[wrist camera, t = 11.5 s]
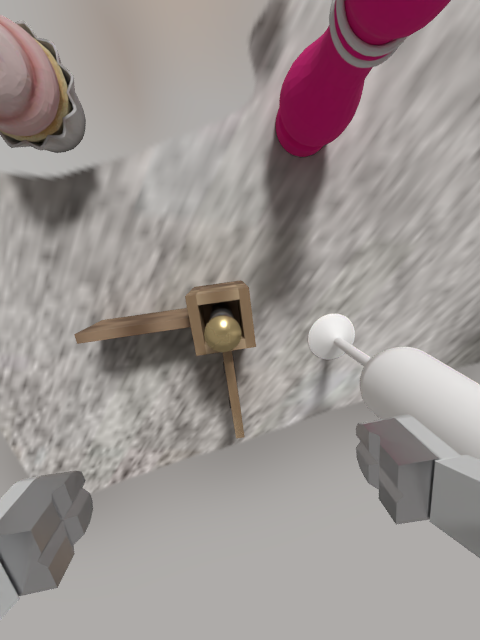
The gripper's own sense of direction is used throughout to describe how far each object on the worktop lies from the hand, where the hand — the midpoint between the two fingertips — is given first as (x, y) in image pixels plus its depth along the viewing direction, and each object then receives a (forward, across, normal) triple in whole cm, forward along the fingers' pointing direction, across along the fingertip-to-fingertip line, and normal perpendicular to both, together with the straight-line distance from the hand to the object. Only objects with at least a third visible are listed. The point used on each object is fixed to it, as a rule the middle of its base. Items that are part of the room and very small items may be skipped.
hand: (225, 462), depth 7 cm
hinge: (+25, +6, +6) cm, 26 cm away
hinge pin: (+21, 0, 0) cm, 21 cm away
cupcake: (+25, +14, -22) cm, 36 cm away
